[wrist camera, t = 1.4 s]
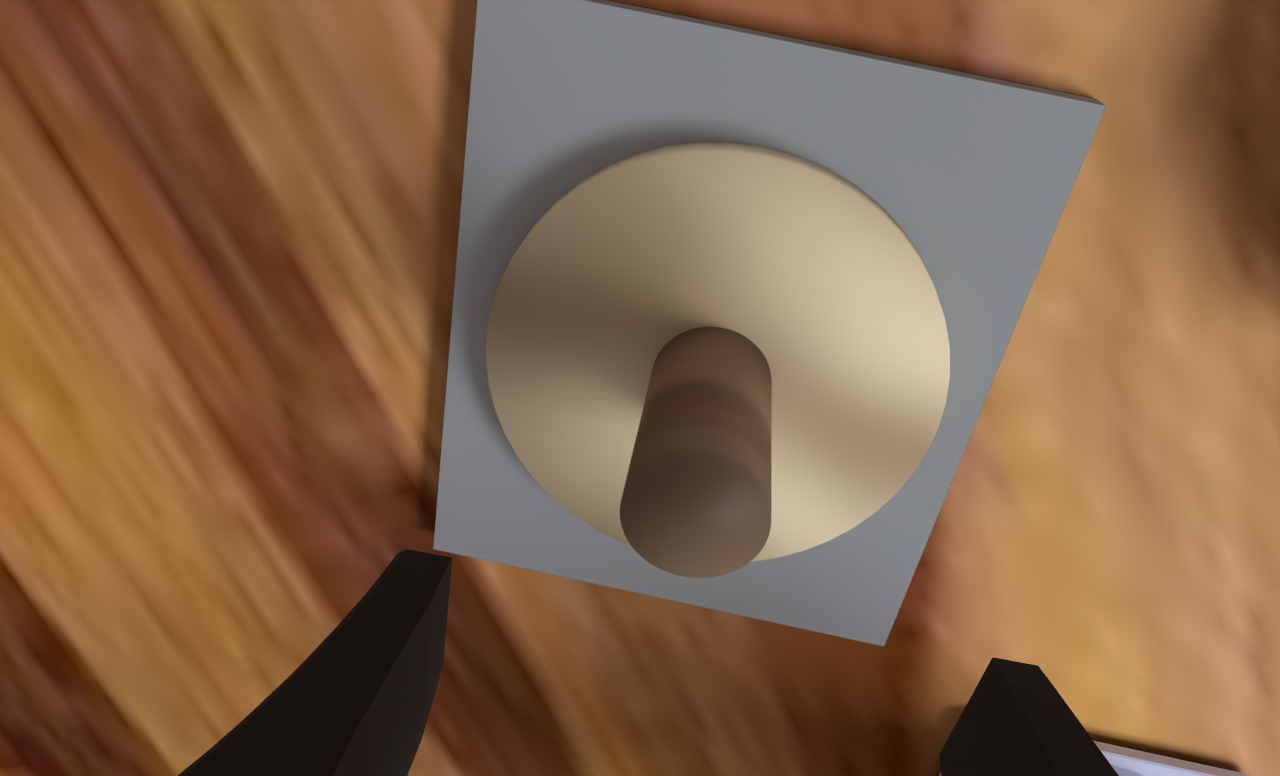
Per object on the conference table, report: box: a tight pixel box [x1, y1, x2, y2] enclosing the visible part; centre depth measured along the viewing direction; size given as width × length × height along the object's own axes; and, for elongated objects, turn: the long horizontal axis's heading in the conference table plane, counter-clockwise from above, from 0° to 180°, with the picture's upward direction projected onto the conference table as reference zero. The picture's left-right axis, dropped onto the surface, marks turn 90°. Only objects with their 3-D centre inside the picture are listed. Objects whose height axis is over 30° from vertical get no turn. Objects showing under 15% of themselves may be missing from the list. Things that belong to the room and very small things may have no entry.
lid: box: [486, 142, 950, 578], centre depth 19 cm, size 10×10×6 cm
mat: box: [433, 0, 1106, 646], centre depth 22 cm, size 14×12×1 cm
